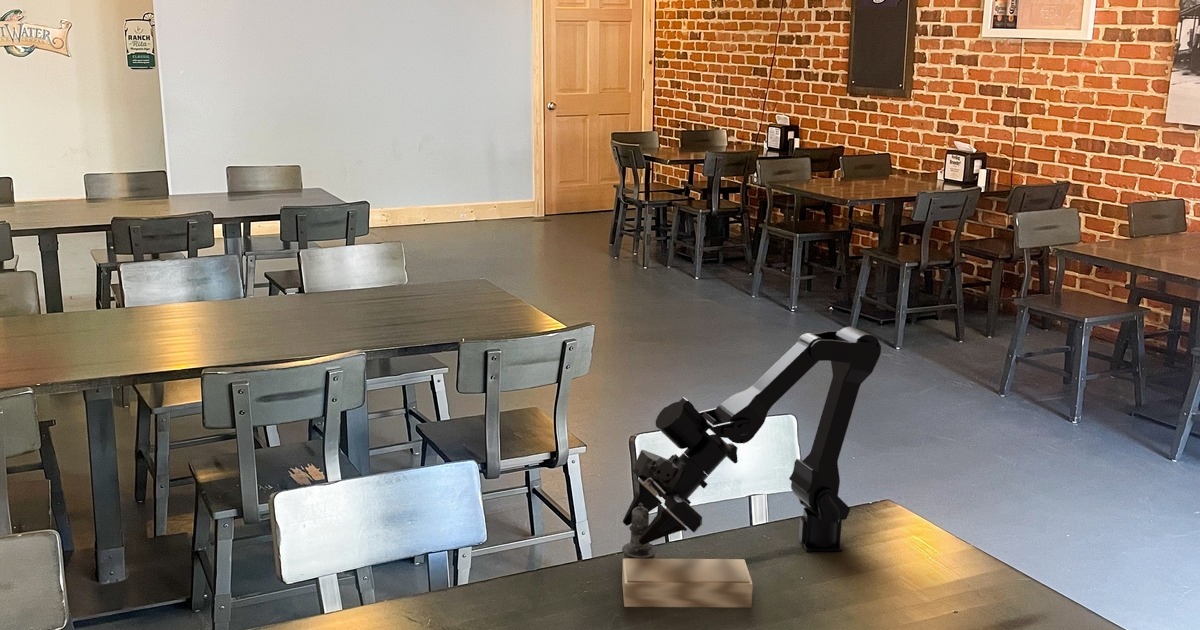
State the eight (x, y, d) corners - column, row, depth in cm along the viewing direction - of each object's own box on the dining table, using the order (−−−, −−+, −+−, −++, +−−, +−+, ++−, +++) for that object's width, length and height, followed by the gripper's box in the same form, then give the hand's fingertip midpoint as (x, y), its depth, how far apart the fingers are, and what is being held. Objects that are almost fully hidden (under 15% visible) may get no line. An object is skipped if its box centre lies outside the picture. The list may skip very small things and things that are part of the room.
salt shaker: (638, 557, 185) (640, 492, 182) (663, 569, 181) (665, 502, 178) (614, 568, 181) (615, 502, 178) (639, 580, 177) (641, 512, 174)
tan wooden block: (743, 581, 177) (744, 558, 176) (751, 607, 169) (752, 582, 168) (622, 581, 177) (622, 557, 176) (624, 606, 168) (624, 581, 167)
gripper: (645, 417, 185) (583, 484, 185) (686, 454, 168) (618, 528, 167) (685, 456, 190) (625, 521, 189) (730, 496, 172) (664, 568, 172)
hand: (632, 533), depth 179 cm, fingers open, 7 cm apart
